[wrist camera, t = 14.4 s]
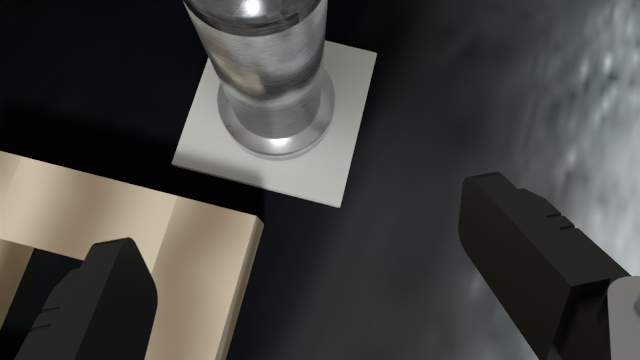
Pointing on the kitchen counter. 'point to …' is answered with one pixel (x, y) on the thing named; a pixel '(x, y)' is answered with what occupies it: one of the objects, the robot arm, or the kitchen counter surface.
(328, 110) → the steel plug
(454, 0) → the kitchen counter surface
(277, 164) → the grey rubber pad
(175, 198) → the frame
